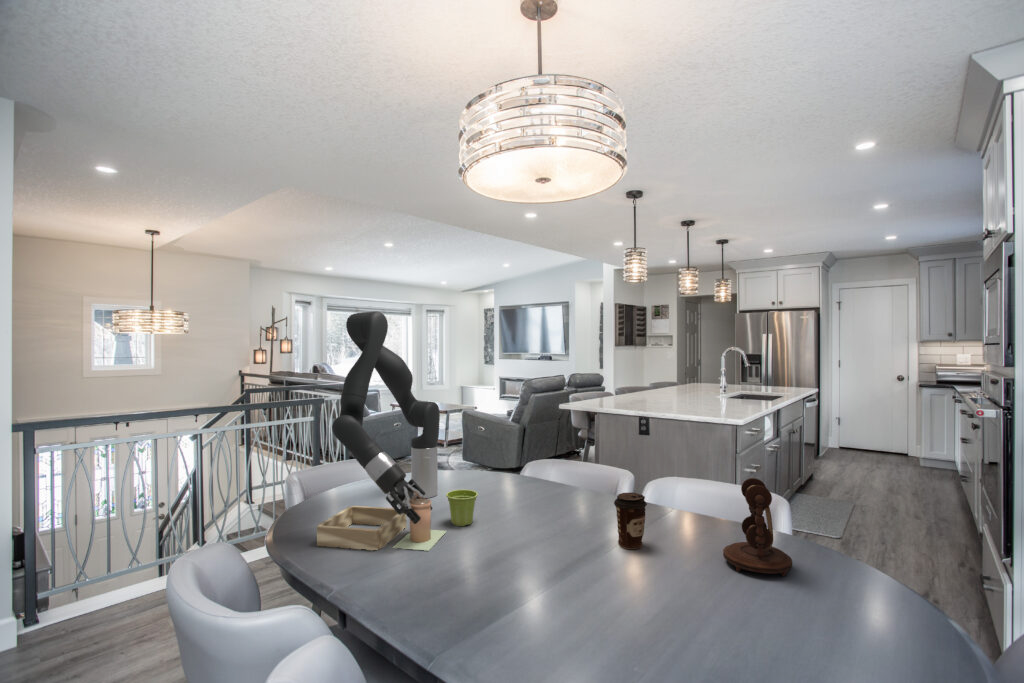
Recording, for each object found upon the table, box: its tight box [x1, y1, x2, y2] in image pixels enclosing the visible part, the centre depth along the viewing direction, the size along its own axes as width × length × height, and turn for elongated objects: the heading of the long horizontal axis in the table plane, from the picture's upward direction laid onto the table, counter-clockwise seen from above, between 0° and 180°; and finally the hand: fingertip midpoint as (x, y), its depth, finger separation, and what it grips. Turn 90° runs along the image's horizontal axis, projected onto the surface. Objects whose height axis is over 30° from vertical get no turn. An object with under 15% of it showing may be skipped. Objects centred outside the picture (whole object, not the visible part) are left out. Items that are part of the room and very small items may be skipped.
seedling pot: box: [409, 498, 432, 543], centre depth 139 cm, size 6×6×10 cm
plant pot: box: [446, 489, 479, 527], centre depth 152 cm, size 9×9×9 cm
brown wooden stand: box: [722, 477, 793, 578], centre depth 121 cm, size 15×15×20 cm
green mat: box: [392, 529, 448, 552], centre depth 138 cm, size 14×10×1 cm
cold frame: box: [316, 505, 407, 551], centre depth 142 cm, size 18×18×5 cm
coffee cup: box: [613, 492, 648, 550], centre depth 134 cm, size 9×8×13 cm
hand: (424, 516), depth 138 cm, fingers open, 8 cm apart
